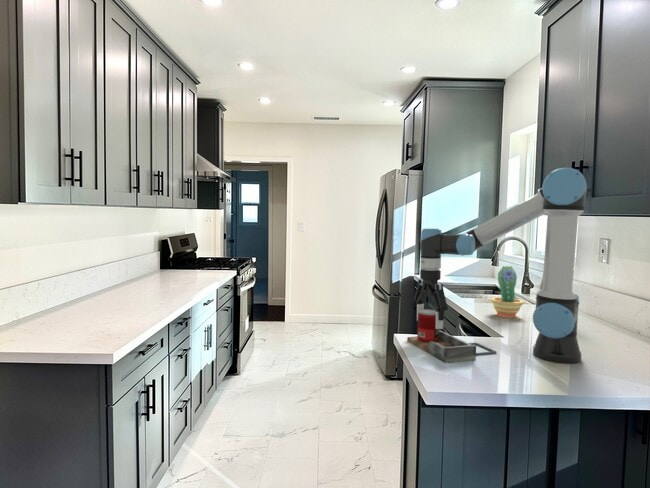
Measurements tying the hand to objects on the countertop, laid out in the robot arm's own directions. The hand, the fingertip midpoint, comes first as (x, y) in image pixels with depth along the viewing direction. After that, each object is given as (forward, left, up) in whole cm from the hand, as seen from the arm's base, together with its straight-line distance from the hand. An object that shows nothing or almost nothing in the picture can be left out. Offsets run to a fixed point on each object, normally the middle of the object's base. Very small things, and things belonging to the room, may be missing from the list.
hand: (429, 324), depth 165 cm
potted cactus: (+33, -65, -8) cm, 73 cm away
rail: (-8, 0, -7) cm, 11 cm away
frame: (-11, -13, -7) cm, 18 cm away
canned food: (0, 0, -6) cm, 6 cm away
